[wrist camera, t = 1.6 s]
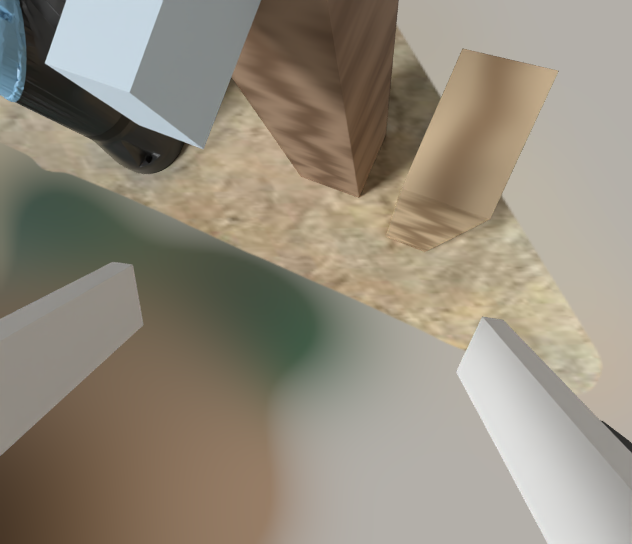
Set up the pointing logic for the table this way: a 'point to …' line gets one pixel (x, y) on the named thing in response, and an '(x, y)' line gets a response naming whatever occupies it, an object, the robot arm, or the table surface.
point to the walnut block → (322, 83)
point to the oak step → (469, 148)
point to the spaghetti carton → (154, 58)
